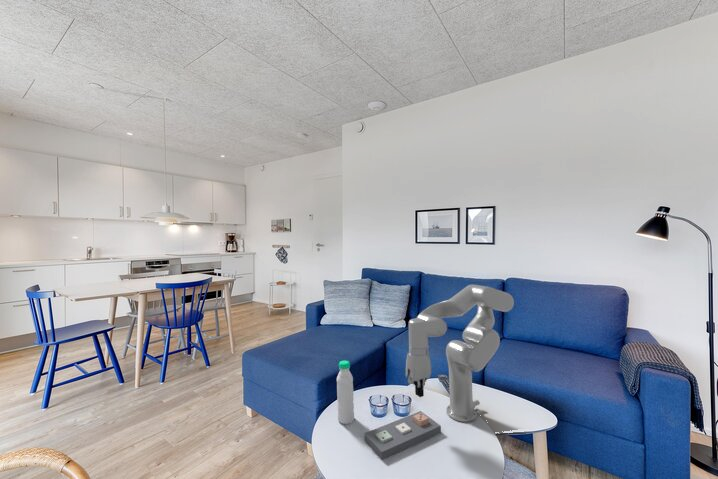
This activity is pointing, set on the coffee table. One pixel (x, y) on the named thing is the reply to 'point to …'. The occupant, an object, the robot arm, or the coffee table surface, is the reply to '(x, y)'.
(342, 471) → the coffee table surface
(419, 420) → the three pip key
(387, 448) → the key board
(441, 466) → the coffee table surface
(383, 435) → the two pip key
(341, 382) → the water bottle
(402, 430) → the one pip key
